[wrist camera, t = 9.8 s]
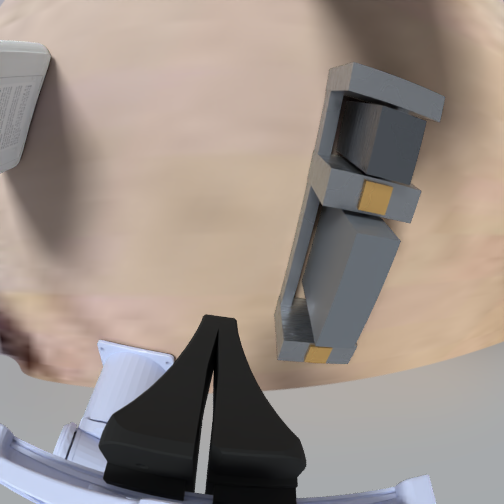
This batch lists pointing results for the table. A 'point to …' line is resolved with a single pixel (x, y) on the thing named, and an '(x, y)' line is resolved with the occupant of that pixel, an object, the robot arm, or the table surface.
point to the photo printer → (18, 95)
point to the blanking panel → (346, 274)
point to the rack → (355, 179)
